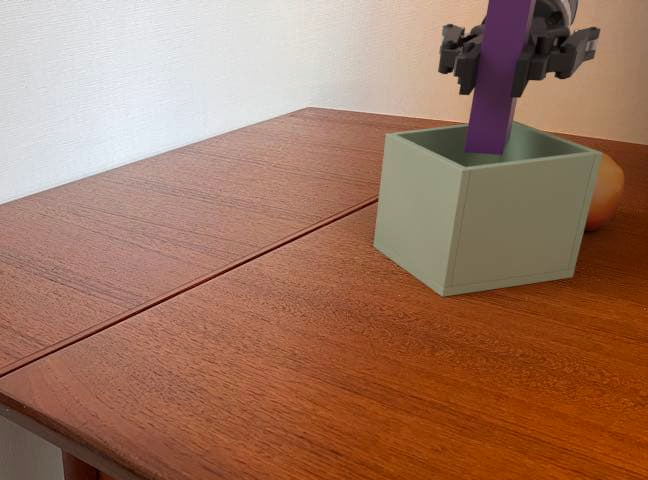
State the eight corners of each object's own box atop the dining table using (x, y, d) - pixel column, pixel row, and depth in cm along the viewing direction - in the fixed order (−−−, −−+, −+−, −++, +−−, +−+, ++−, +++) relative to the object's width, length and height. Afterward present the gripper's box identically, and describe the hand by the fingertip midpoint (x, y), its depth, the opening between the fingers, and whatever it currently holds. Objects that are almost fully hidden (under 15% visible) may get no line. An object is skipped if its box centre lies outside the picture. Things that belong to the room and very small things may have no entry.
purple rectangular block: (463, 152, 72) (489, -5, 66) (472, 137, 76) (497, -13, 69) (502, 155, 71) (532, -5, 64) (509, 139, 74) (538, -13, 68)
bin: (489, 230, 85) (509, 118, 79) (573, 277, 74) (603, 152, 69) (373, 246, 83) (385, 133, 77) (442, 297, 72) (462, 170, 67)
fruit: (631, 200, 86) (640, 140, 79) (603, 260, 83) (610, 204, 77) (546, 188, 90) (547, 130, 84) (517, 245, 88) (517, 190, 82)
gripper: (608, 73, 82) (598, 135, 64) (432, 67, 88) (380, 121, 71) (629, -14, 78) (624, 26, 60) (443, -14, 85) (391, 23, 67)
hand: (492, 77), depth 66 cm, fingers closed on purple rectangular block, 3 cm apart
